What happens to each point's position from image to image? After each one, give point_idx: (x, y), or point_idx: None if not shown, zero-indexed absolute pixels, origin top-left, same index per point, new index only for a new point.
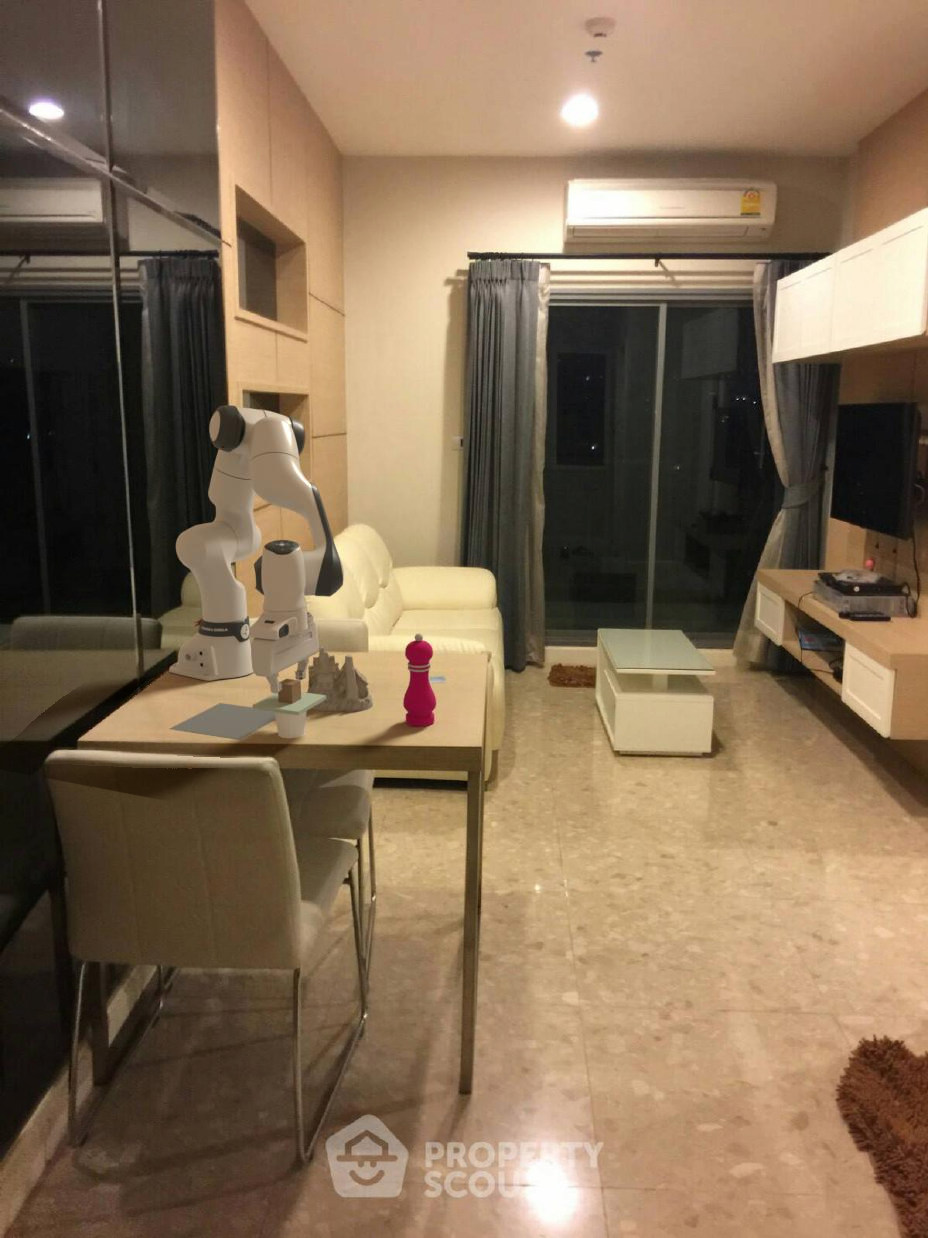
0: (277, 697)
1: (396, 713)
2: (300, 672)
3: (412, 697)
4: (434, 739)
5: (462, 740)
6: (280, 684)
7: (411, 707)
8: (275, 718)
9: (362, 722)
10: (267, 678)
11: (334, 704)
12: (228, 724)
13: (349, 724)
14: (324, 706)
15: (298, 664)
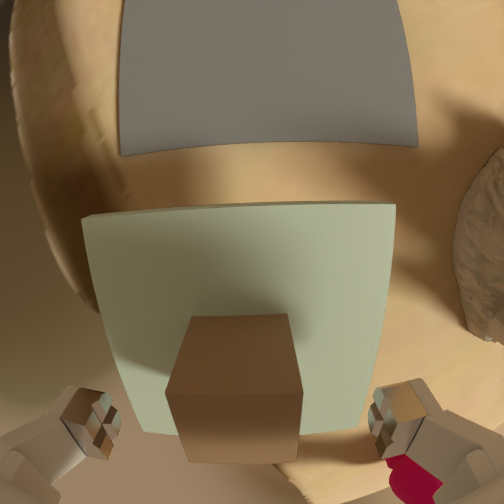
0: (251, 270)
1: (452, 394)
2: (382, 450)
3: (401, 494)
4: (330, 485)
5: (335, 499)
6: (97, 454)
7: (393, 479)
8: (354, 138)
9: (399, 379)
10: (4, 441)
11: (473, 285)
12: (228, 23)
13: (381, 365)
14: (465, 258)
15: (459, 439)
